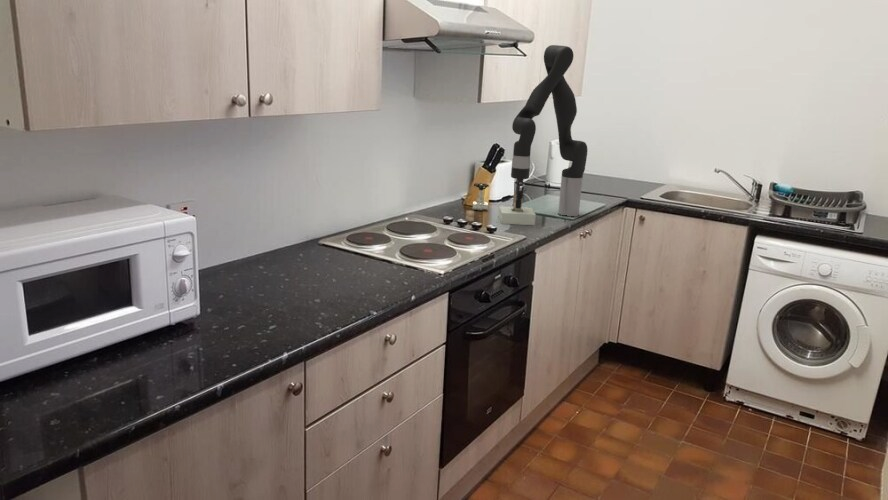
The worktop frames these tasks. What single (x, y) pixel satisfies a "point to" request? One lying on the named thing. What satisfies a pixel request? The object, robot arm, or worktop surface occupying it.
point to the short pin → (469, 215)
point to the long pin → (515, 204)
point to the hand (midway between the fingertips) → (517, 207)
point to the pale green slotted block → (517, 216)
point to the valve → (480, 198)
